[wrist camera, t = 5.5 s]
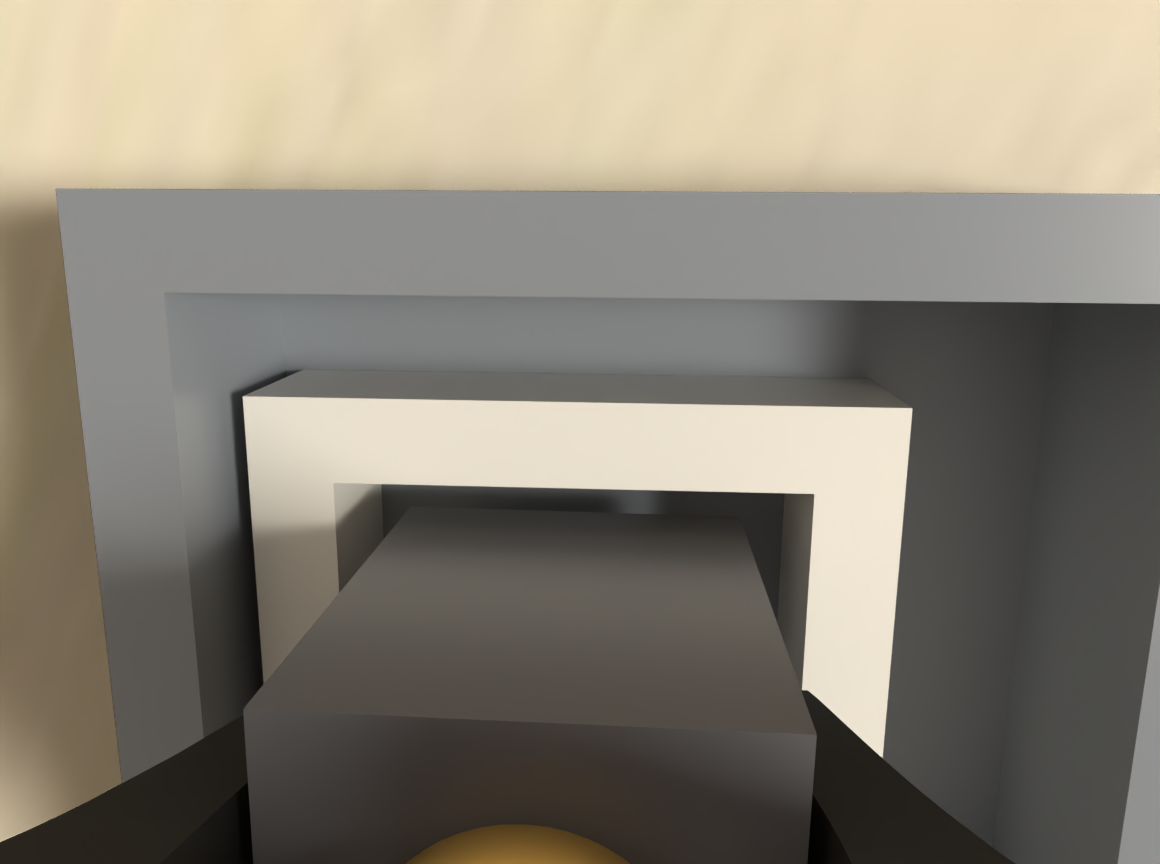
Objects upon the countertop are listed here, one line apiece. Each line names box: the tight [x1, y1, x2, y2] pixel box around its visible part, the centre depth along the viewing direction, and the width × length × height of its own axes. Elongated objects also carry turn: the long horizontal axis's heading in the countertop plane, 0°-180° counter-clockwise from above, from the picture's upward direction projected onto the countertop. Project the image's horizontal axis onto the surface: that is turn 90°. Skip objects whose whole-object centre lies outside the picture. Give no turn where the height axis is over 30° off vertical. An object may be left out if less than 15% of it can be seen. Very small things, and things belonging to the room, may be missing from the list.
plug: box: [243, 506, 817, 864], centre depth 9 cm, size 4×4×6 cm
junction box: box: [56, 189, 1160, 864], centre depth 12 cm, size 12×11×4 cm
